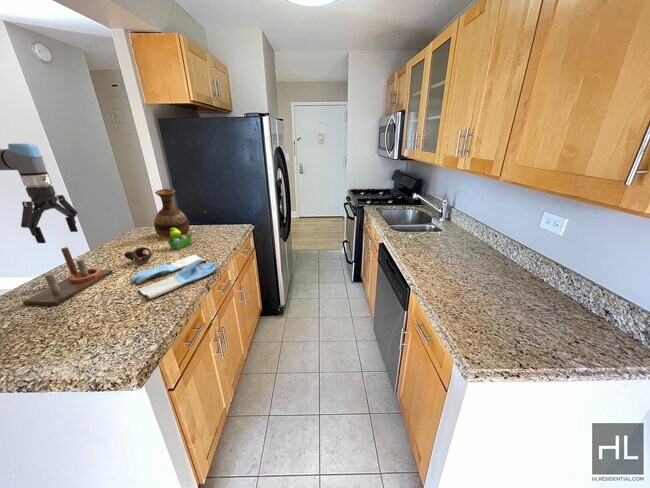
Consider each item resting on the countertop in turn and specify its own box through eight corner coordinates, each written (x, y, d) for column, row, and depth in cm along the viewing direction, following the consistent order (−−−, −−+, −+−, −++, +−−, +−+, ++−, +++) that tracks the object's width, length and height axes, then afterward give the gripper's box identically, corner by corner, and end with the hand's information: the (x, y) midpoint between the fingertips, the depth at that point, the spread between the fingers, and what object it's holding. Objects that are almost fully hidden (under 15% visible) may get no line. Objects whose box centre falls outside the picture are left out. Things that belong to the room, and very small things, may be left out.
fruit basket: (177, 250, 146) (173, 231, 142) (166, 248, 149) (161, 230, 145) (193, 243, 156) (190, 226, 152) (183, 241, 159) (179, 224, 155)
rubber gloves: (124, 279, 116) (120, 266, 114) (195, 255, 140) (193, 244, 138) (150, 300, 101) (145, 286, 98) (224, 269, 125) (222, 257, 122)
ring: (61, 282, 111) (49, 253, 106) (84, 270, 121) (73, 243, 116) (86, 282, 110) (75, 253, 105) (107, 270, 120) (98, 244, 115)
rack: (24, 304, 98) (13, 282, 95) (86, 272, 122) (78, 253, 119) (57, 305, 98) (47, 283, 94) (112, 272, 122) (106, 254, 118)
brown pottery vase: (156, 242, 158) (144, 193, 147) (157, 232, 174) (146, 188, 163) (192, 236, 167) (182, 190, 156) (189, 228, 183) (180, 185, 172)
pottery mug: (153, 256, 140) (153, 245, 135) (151, 269, 134) (151, 259, 129) (126, 254, 134) (125, 244, 129) (122, 269, 129) (121, 258, 123)
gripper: (10, 191, 89) (35, 248, 97) (77, 181, 112) (93, 227, 120) (-11, 191, 89) (16, 248, 97) (61, 181, 113) (77, 227, 120)
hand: (58, 237), depth 109 cm, fingers open, 13 cm apart
